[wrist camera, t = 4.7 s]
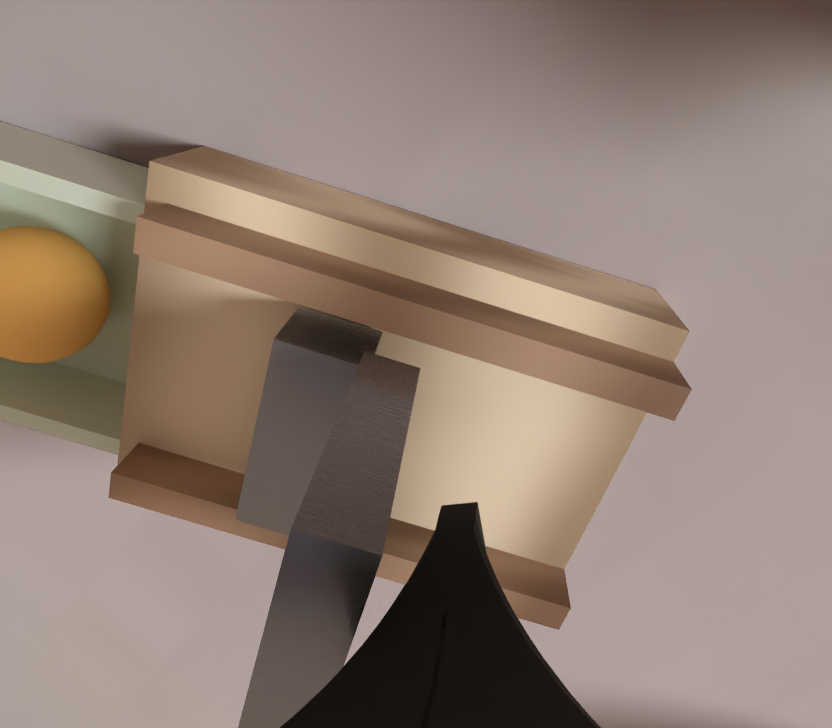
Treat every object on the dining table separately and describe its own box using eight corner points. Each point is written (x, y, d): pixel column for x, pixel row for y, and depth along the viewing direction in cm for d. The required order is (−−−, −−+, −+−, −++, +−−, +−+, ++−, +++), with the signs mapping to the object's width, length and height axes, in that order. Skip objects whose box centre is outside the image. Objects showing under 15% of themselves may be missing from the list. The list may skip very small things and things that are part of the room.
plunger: (426, 336, 15) (382, 556, 8) (369, 509, 17) (297, 792, 10) (301, 297, 15) (151, 487, 8) (260, 477, 17) (116, 742, 10)
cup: (198, 183, 17) (144, 205, 14) (167, 402, 20) (118, 455, 17) (-41, 108, 17) (-143, 115, 14) (-37, 341, 20) (-119, 384, 17)
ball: (131, 228, 18) (89, 271, 15) (120, 339, 19) (80, 399, 16) (-9, 195, 17) (-85, 233, 14) (-9, 313, 18) (-77, 373, 15)
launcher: (656, 289, 17) (709, 356, 13) (534, 539, 21) (547, 650, 17) (203, 145, 17) (115, 169, 13) (164, 429, 20) (87, 515, 16)
